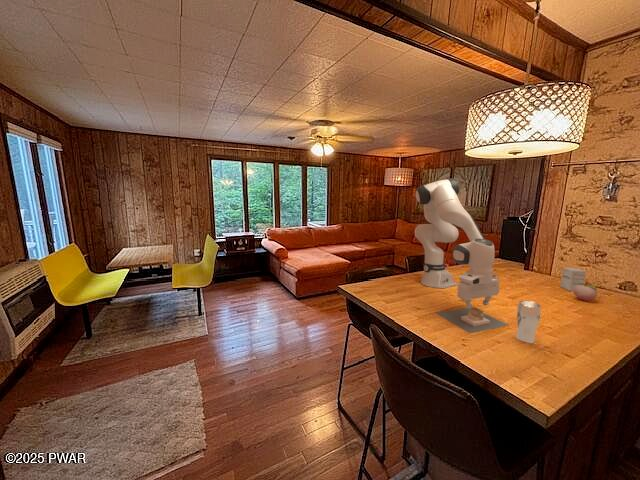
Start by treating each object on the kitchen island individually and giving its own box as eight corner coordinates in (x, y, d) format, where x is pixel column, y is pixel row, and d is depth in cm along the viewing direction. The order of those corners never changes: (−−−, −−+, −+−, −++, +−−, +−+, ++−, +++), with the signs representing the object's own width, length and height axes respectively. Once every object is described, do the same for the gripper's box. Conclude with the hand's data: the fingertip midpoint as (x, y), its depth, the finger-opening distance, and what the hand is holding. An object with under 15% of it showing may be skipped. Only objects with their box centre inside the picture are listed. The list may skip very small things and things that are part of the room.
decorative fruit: (598, 301, 138) (601, 283, 137) (593, 305, 134) (596, 286, 132) (574, 296, 146) (577, 279, 145) (569, 299, 142) (572, 281, 140)
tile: (476, 313, 120) (461, 316, 117) (490, 320, 113) (474, 323, 111) (476, 317, 120) (460, 319, 118) (489, 323, 114) (473, 326, 111)
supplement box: (559, 286, 162) (562, 267, 160) (573, 287, 161) (576, 267, 159) (569, 291, 155) (572, 270, 153) (583, 291, 153) (586, 270, 151)
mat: (470, 308, 131) (470, 307, 131) (509, 326, 112) (509, 325, 112) (434, 314, 125) (434, 312, 125) (469, 334, 106) (469, 333, 106)
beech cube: (475, 315, 118) (475, 307, 117) (482, 319, 114) (483, 311, 113) (468, 317, 117) (468, 308, 116) (475, 321, 113) (476, 312, 112)
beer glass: (511, 334, 106) (515, 299, 104) (532, 337, 103) (537, 301, 101) (517, 342, 100) (521, 306, 97) (539, 346, 97) (544, 308, 95)
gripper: (491, 272, 119) (488, 300, 121) (455, 276, 113) (453, 306, 115) (504, 276, 113) (501, 305, 115) (468, 281, 107) (465, 312, 109)
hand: (477, 306), depth 115 cm, fingers open, 8 cm apart
